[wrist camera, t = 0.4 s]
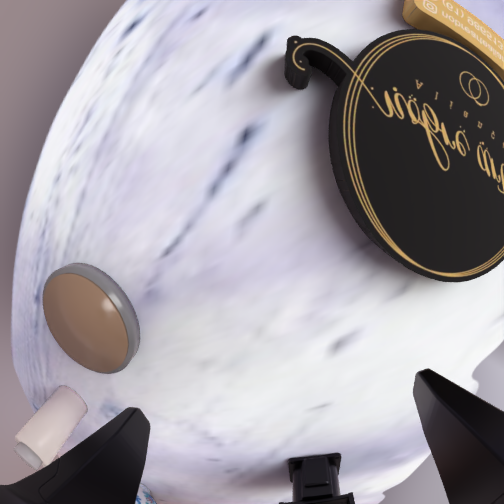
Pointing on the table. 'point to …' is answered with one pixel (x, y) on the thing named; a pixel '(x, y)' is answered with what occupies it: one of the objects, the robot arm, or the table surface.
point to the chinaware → (144, 496)
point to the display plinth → (91, 318)
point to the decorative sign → (420, 137)
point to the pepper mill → (50, 427)
